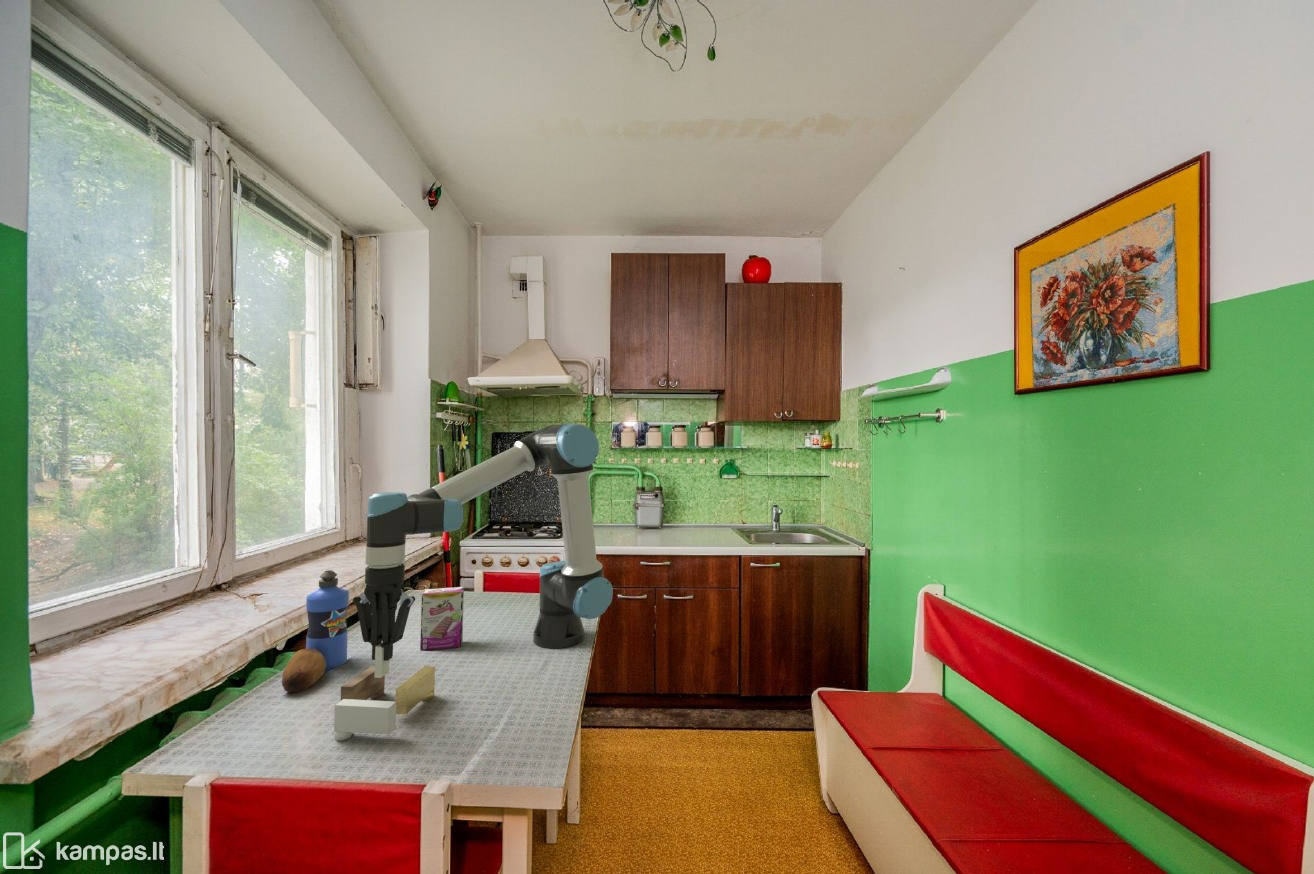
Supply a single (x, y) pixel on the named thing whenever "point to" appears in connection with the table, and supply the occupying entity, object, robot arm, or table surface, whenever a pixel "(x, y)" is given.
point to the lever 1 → (364, 686)
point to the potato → (303, 670)
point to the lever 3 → (415, 690)
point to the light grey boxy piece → (363, 717)
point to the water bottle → (328, 620)
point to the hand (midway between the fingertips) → (381, 674)
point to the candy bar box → (442, 618)
